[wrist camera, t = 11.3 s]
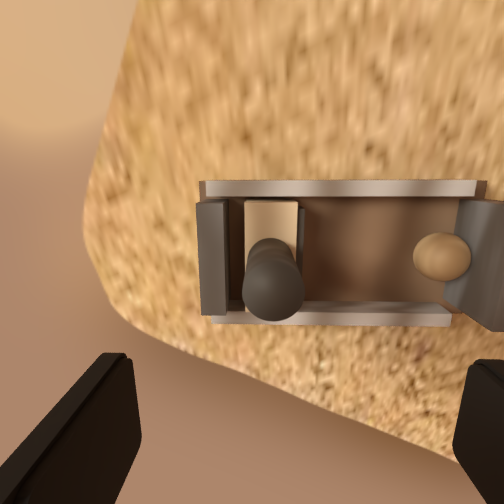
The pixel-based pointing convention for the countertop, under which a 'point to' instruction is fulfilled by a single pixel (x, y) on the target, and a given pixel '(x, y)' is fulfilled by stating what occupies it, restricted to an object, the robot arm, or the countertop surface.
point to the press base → (365, 251)
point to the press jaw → (273, 258)
